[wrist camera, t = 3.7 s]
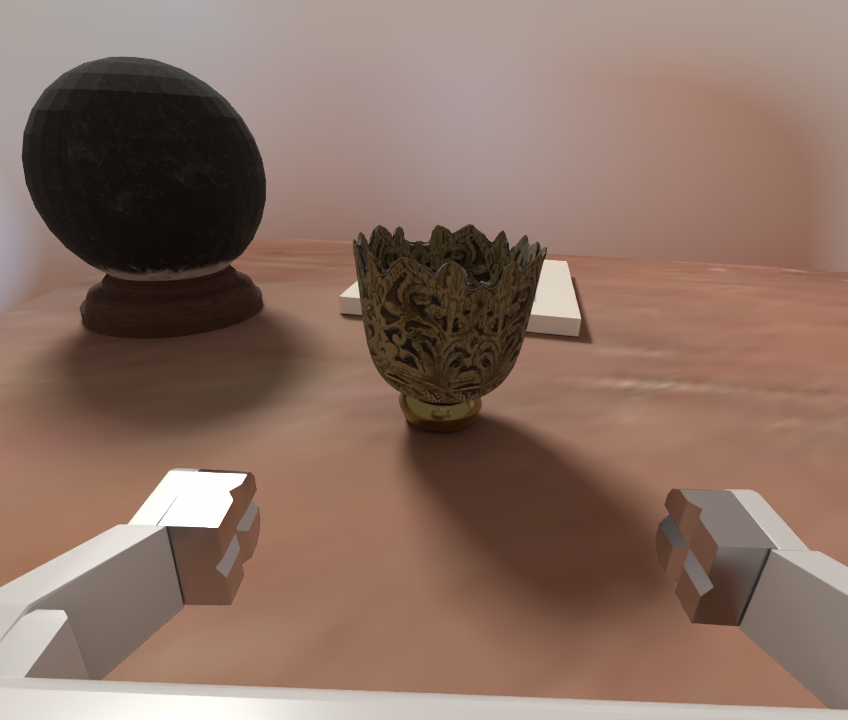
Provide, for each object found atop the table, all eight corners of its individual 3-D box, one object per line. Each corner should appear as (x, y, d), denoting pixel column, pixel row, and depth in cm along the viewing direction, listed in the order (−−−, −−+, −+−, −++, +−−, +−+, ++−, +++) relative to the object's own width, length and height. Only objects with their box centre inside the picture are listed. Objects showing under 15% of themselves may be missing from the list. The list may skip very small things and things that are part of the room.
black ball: (33, 354, 28) (-68, 28, 22) (91, 286, 39) (36, 60, 33) (284, 333, 32) (260, 53, 26) (271, 277, 43) (252, 74, 37)
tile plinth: (564, 274, 47) (567, 258, 47) (578, 336, 33) (582, 314, 32) (395, 260, 50) (395, 245, 49) (339, 313, 35) (338, 292, 35)
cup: (486, 374, 27) (500, 220, 24) (553, 451, 21) (585, 256, 18) (346, 386, 25) (341, 222, 22) (372, 476, 19) (370, 263, 16)
